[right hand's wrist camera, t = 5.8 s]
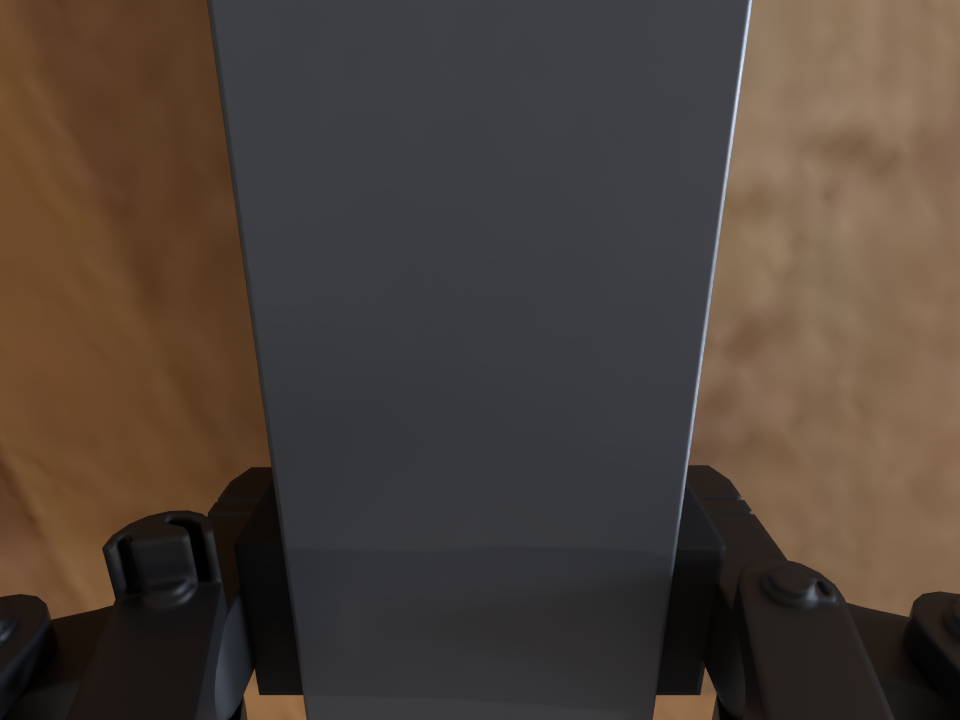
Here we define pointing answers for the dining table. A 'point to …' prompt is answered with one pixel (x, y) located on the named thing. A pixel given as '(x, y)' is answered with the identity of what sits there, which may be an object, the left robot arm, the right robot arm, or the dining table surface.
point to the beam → (479, 333)
